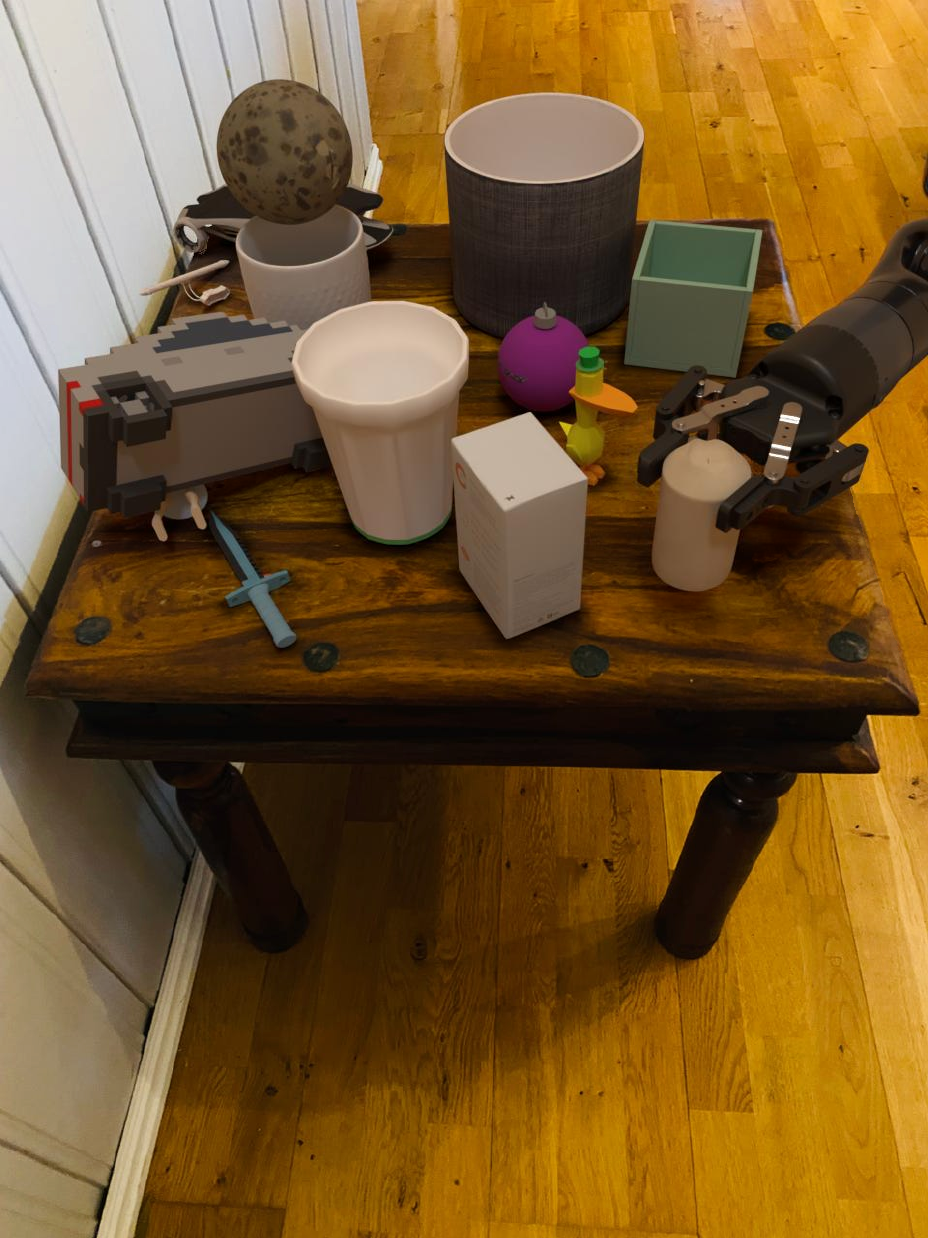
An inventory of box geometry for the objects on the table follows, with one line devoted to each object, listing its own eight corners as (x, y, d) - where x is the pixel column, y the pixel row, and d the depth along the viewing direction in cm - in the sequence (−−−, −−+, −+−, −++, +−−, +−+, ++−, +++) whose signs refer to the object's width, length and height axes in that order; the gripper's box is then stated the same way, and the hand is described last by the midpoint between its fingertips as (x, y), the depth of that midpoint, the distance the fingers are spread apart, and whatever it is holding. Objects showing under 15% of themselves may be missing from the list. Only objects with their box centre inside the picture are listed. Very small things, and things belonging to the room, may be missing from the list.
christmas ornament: (598, 424, 86) (605, 325, 79) (506, 436, 86) (504, 337, 78) (578, 368, 92) (583, 270, 84) (491, 379, 91) (488, 282, 84)
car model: (159, 222, 105) (176, 267, 109) (355, 231, 96) (367, 280, 99) (218, 178, 112) (231, 222, 115) (406, 183, 102) (415, 230, 106)
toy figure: (637, 480, 82) (651, 358, 72) (614, 505, 80) (626, 383, 71) (568, 450, 84) (573, 329, 75) (545, 474, 83) (547, 352, 73)
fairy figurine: (261, 529, 78) (249, 461, 87) (241, 477, 75) (230, 413, 84) (118, 573, 77) (121, 500, 86) (92, 522, 74) (98, 452, 83)
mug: (312, 299, 101) (289, 173, 91) (412, 316, 98) (400, 187, 88) (244, 386, 92) (210, 257, 82) (352, 407, 89) (330, 276, 79)
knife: (179, 515, 81) (236, 492, 82) (183, 526, 81) (239, 503, 83) (255, 649, 70) (319, 620, 71) (259, 660, 71) (322, 631, 72)
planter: (417, 307, 99) (403, 150, 87) (519, 230, 108) (518, 77, 96) (566, 366, 92) (573, 203, 80) (662, 278, 101) (681, 119, 89)
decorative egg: (350, 253, 80) (302, 225, 92) (389, 113, 77) (334, 103, 89) (220, 210, 75) (187, 187, 87) (255, 57, 71) (216, 55, 83)
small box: (582, 610, 73) (591, 478, 63) (505, 642, 71) (502, 511, 61) (529, 541, 78) (531, 408, 68) (457, 569, 76) (447, 437, 66)
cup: (507, 522, 79) (504, 361, 67) (370, 588, 75) (342, 429, 63) (427, 439, 86) (412, 280, 74) (299, 495, 82) (261, 337, 70)
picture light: (137, 288, 96) (135, 309, 97) (173, 308, 95) (171, 328, 96) (226, 256, 106) (224, 275, 108) (259, 273, 105) (256, 292, 107)
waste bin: (745, 314, 96) (762, 229, 89) (735, 377, 90) (753, 291, 83) (640, 303, 98) (649, 219, 91) (623, 364, 92) (631, 278, 85)
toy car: (387, 371, 79) (324, 296, 83) (96, 429, 66) (37, 337, 70) (364, 458, 85) (306, 385, 89) (95, 525, 72) (42, 436, 76)
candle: (681, 603, 67) (699, 494, 59) (635, 553, 70) (647, 442, 62) (747, 573, 68) (774, 462, 60) (699, 524, 71) (719, 413, 64)
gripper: (752, 288, 69) (595, 401, 62) (944, 369, 62) (792, 507, 55) (736, 376, 75) (590, 489, 68) (910, 460, 68) (768, 595, 61)
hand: (681, 496), depth 62 cm, fingers closed on candle, 5 cm apart
